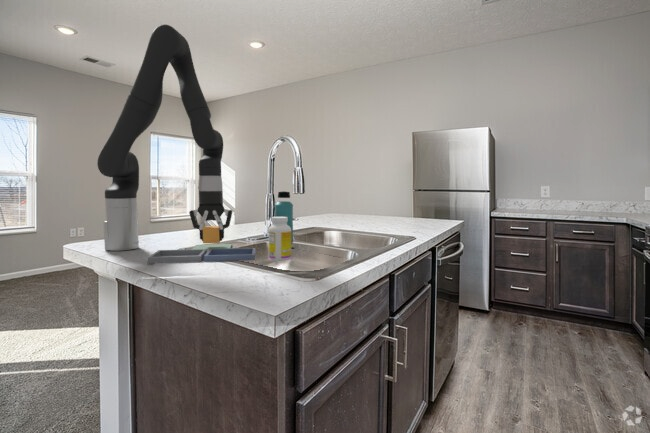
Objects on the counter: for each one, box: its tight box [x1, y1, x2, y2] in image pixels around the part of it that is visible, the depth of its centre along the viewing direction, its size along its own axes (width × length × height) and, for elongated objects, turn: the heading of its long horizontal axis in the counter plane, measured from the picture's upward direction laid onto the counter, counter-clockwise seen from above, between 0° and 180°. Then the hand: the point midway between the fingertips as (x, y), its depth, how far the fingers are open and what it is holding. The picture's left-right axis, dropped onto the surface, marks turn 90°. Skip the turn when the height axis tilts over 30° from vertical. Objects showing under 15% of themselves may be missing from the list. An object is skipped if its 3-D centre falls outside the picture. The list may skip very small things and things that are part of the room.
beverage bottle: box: [273, 191, 294, 247], centre depth 119 cm, size 6×7×20 cm
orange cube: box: [202, 225, 221, 244], centre depth 116 cm, size 5×5×5 cm
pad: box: [192, 243, 233, 252], centre depth 117 cm, size 12×12×1 cm
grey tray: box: [146, 248, 207, 266], centre depth 103 cm, size 14×11×2 cm
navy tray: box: [203, 247, 256, 262], centre depth 105 cm, size 14×11×2 cm
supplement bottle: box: [268, 216, 292, 262], centre depth 103 cm, size 7×7×13 cm
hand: (212, 240), depth 116 cm, fingers closed on orange cube, 5 cm apart
